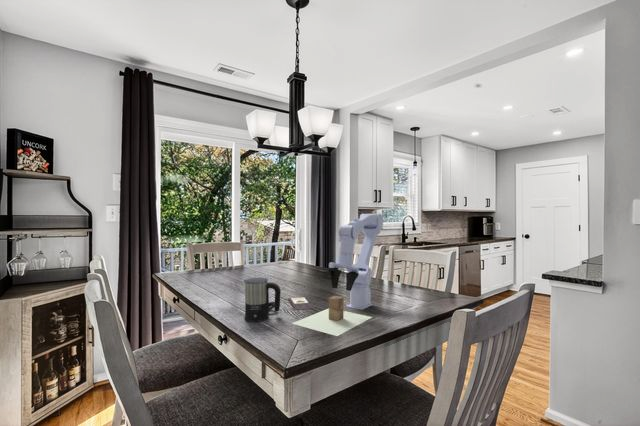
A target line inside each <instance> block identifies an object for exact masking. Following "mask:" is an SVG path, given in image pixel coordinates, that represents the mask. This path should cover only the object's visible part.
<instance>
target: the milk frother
mask: <svg viewBox="0 0 640 426" xmlns="http://www.w3.org/2000/svg"><path fill="white" fill-rule="evenodd" d="M243 282H244V300H245V301H244V305H245V307H244V310H245V311H244V320H245V321H247V322H261V321H262V322H263V321H265V320H267V319H269V318H270V317H269V314H270V313H269V312H271V310H273V309H274V312H277V313H278V312H279V311H280V308H281V307H280V306H281V295H282V294H281V288H280V286H279V285H278V284H277V283H275V282H269V278H267V277H249V278H247V279H244V280H243ZM269 289H271V290H273V291H274V292H275V293H274V301H270V297H269V295H270V294H269V292H270V291H269Z"/></svg>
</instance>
